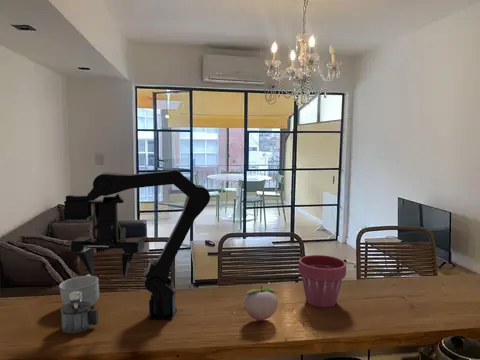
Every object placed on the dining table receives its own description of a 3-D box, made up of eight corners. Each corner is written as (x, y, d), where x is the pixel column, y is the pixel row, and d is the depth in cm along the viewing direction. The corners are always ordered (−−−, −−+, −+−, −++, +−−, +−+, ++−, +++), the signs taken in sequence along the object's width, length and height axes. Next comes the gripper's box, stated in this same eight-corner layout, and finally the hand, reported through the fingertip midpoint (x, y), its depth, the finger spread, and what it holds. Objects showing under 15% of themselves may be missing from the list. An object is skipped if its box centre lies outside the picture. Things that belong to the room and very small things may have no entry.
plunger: (89, 318, 108) (87, 290, 107) (81, 326, 103) (79, 296, 102) (72, 318, 108) (71, 289, 107) (63, 325, 103) (62, 296, 103)
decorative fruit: (254, 331, 103) (254, 294, 102) (239, 319, 110) (239, 284, 109) (284, 323, 107) (284, 288, 106) (268, 312, 115) (268, 278, 114)
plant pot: (355, 304, 120) (356, 263, 119) (322, 315, 113) (323, 271, 111) (320, 289, 132) (321, 252, 131) (288, 299, 124) (289, 259, 123)
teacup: (86, 316, 112) (85, 289, 111) (52, 313, 114) (50, 286, 114) (111, 297, 126) (110, 273, 125) (80, 294, 128) (79, 270, 127)
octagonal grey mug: (102, 321, 109) (102, 302, 108) (91, 334, 102) (90, 313, 101) (70, 320, 110) (69, 301, 109) (56, 332, 102) (55, 312, 102)
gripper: (149, 214, 115) (150, 267, 116) (86, 213, 116) (88, 265, 118) (136, 222, 104) (138, 280, 105) (67, 221, 105) (70, 278, 107)
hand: (108, 275), depth 109 cm, fingers open, 9 cm apart
